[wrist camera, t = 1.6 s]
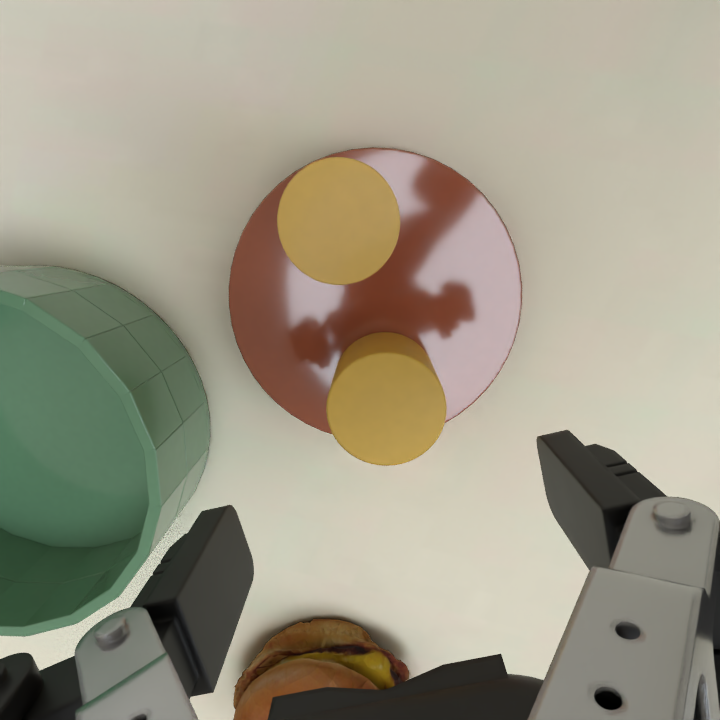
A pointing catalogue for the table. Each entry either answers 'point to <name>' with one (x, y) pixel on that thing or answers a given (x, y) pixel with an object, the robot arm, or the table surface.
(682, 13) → the table surface
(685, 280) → the table surface
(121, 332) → the green bowl
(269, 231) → the plate
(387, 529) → the table surface
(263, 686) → the burger
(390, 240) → the yellow cylinder
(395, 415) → the yellow short cylinder
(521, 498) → the table surface
